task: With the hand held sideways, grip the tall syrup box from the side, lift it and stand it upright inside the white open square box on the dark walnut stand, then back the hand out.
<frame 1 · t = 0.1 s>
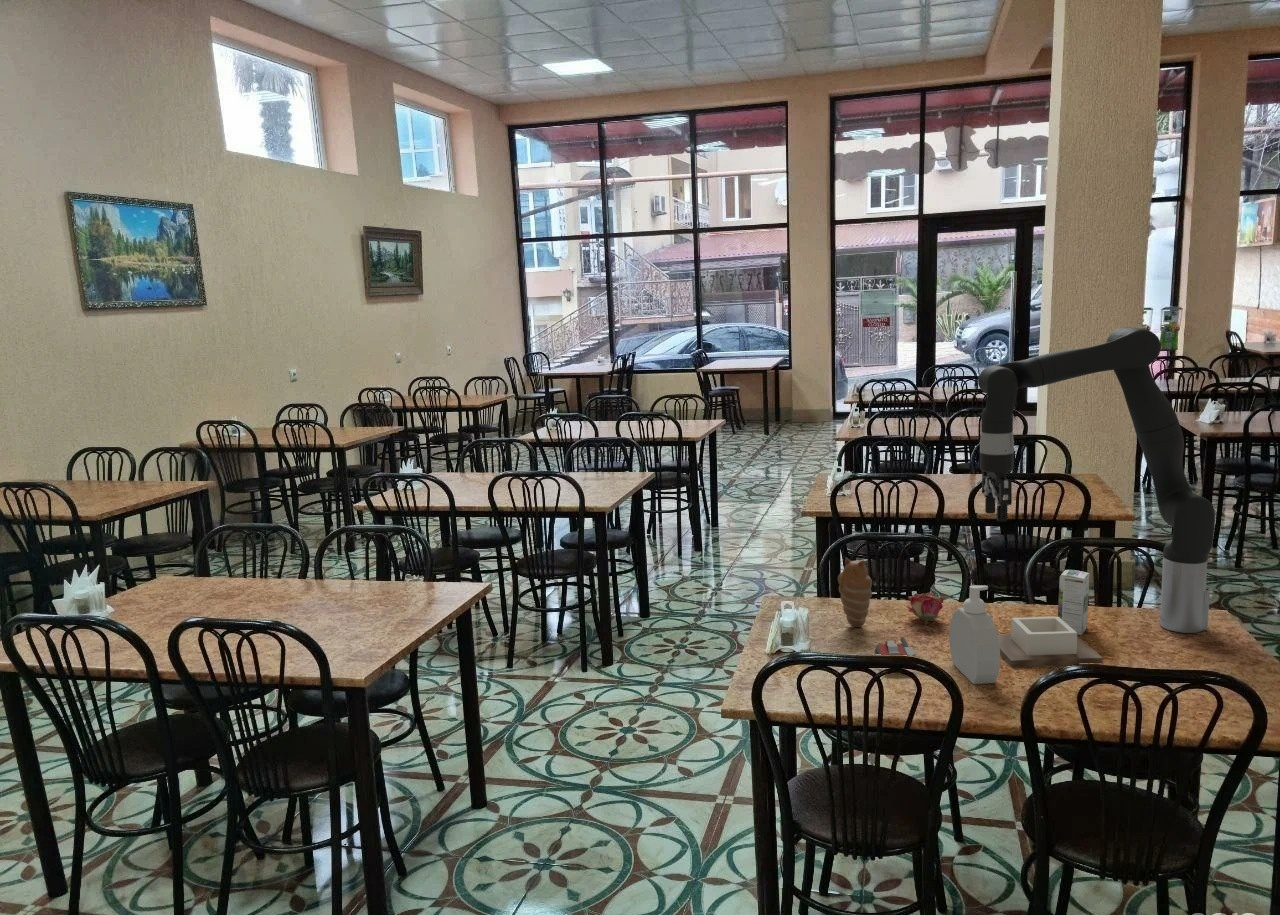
hand: (995, 517, 225), 29 cm above the table, tool pointing down, fingers open, 8 cm apart
soap bottle: (974, 674, 207), on the table
cat ice cream: (856, 627, 238), on the table
white open square box: (1043, 635, 216), on the walnut stand, point 4 cm above the table
flower: (925, 621, 240), on the table
syrup box: (1072, 631, 229), on the table
walkie-talkie: (895, 660, 217), on the table
walnut stand: (1042, 651, 217), on the table
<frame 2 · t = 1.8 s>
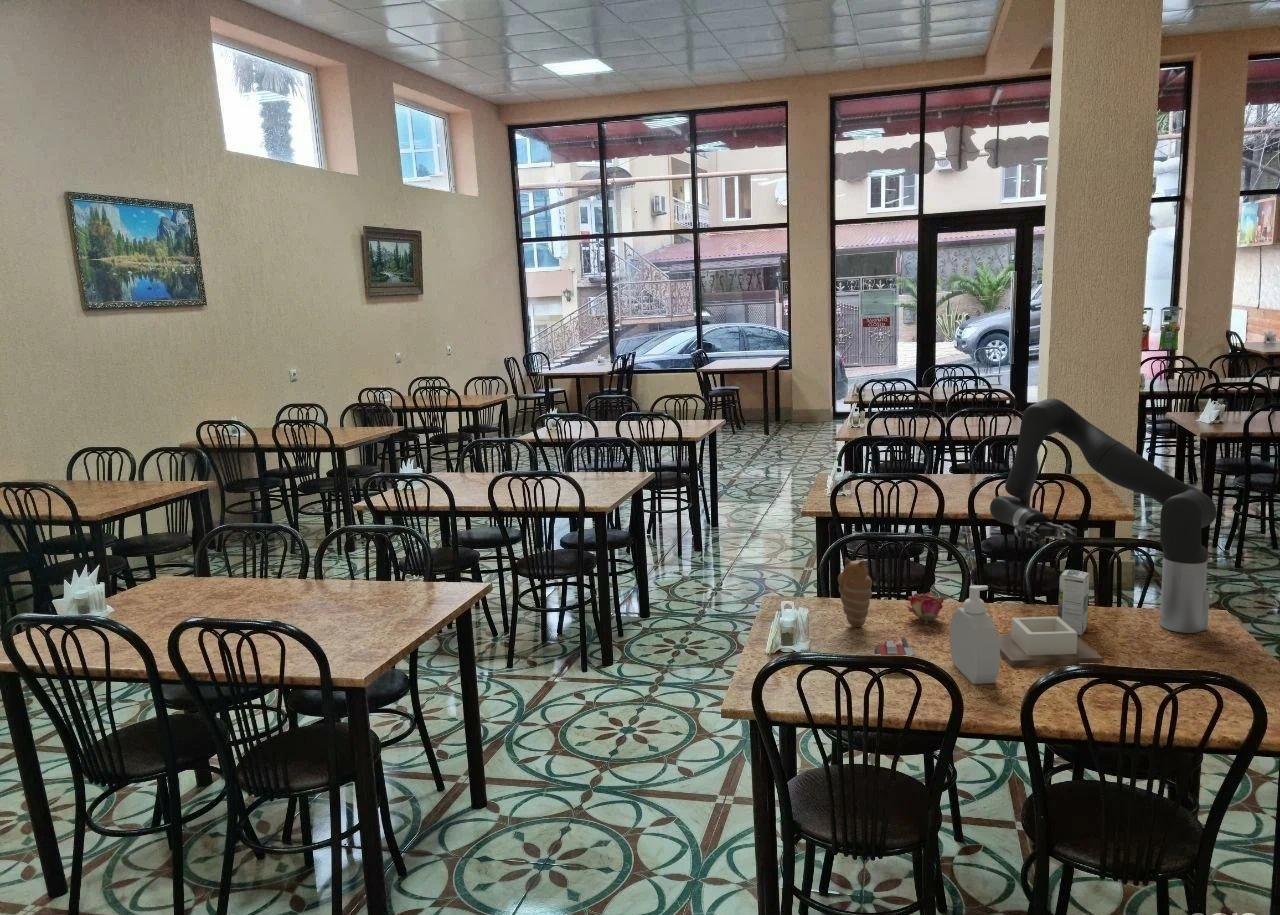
hand: (1056, 539, 236), 20 cm above the table, tool horizontal, fingers open, 8 cm apart
nothing on the table moved.
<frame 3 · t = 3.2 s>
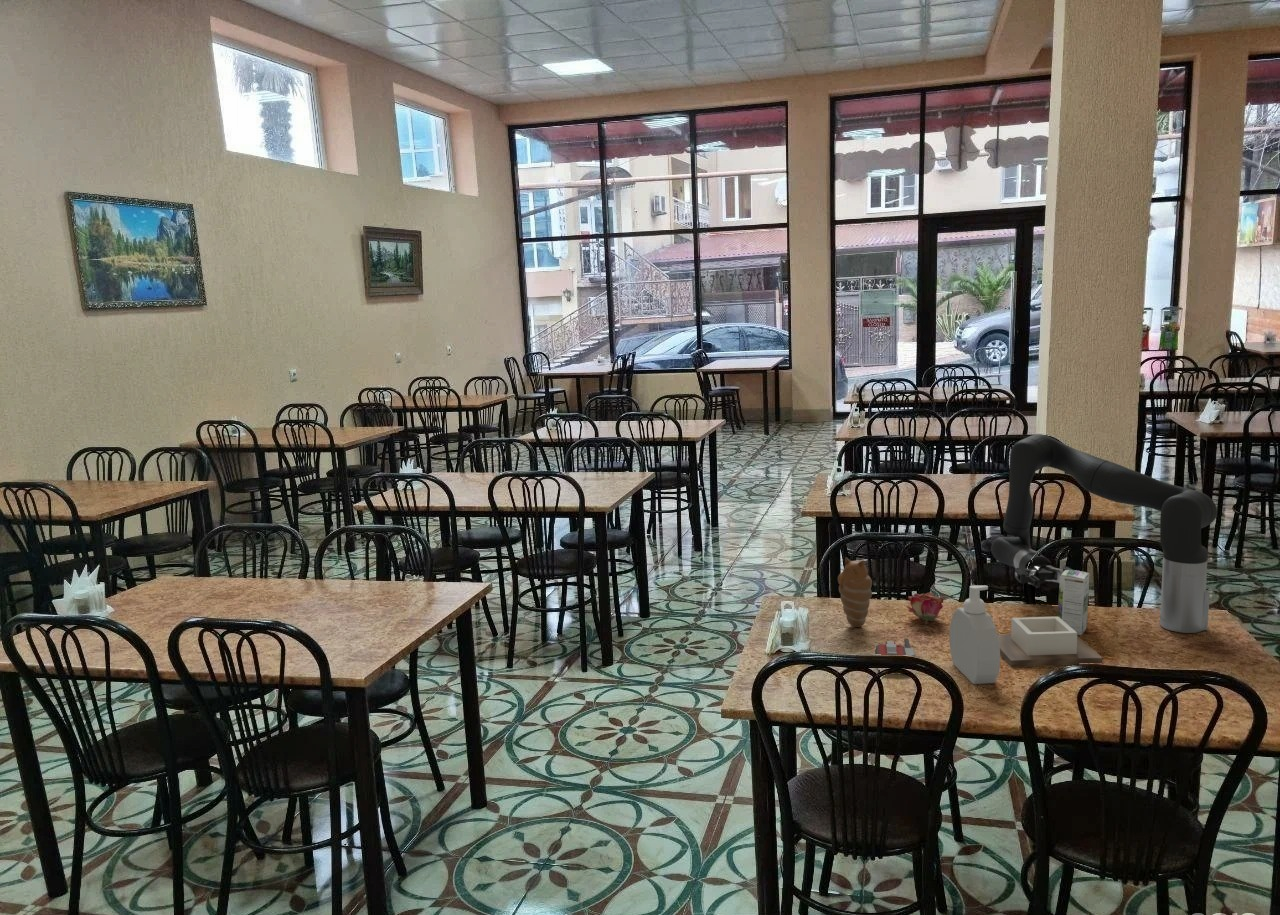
hand: (1056, 583, 238), 9 cm above the table, tool horizontal, fingers open, 8 cm apart
nothing on the table moved.
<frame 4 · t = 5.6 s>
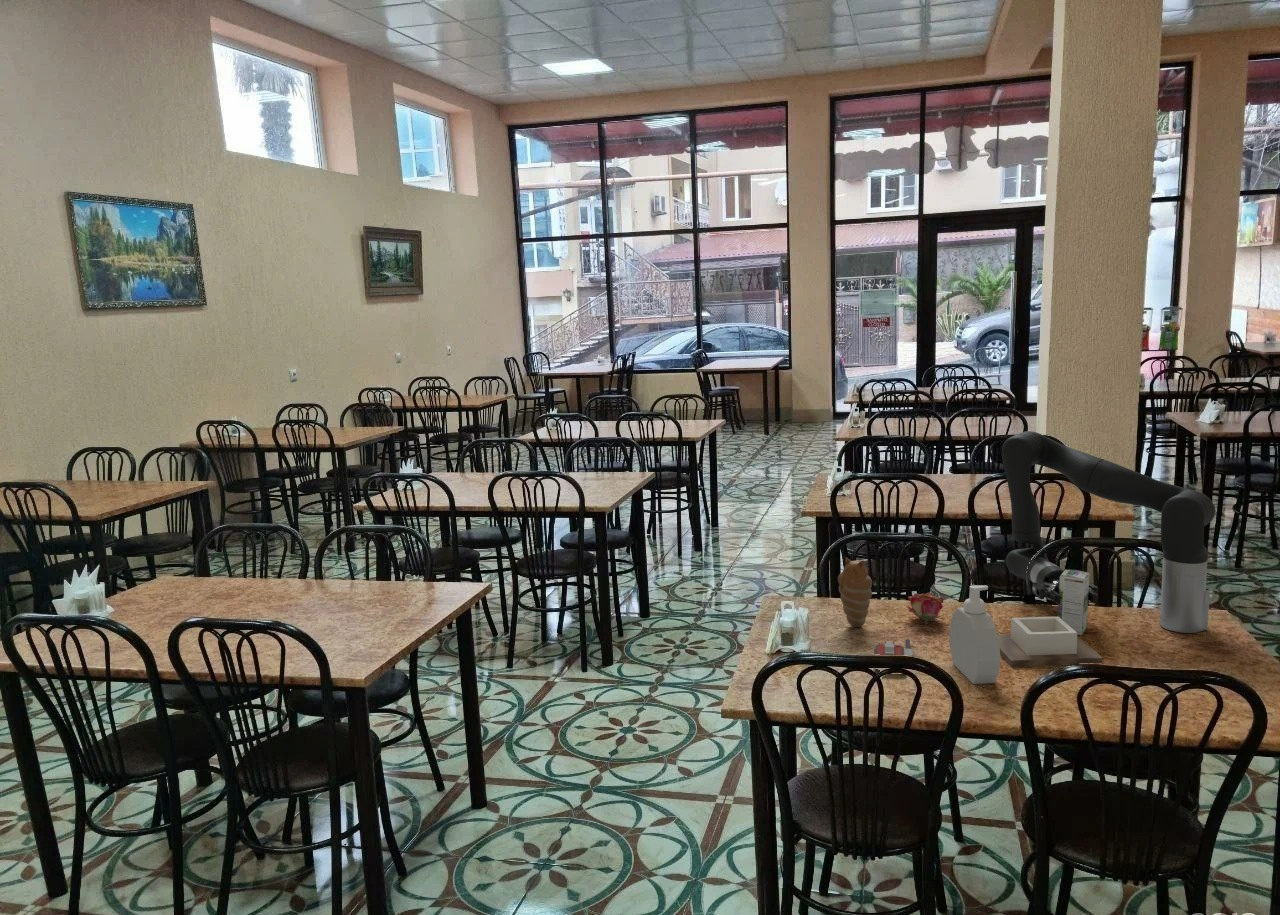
hand: (1076, 599, 225), 9 cm above the table, tool horizontal, fingers closed on syrup box, 8 cm apart
syrup box: (1072, 631, 229), on the table, touching gripper
everything else where it was.
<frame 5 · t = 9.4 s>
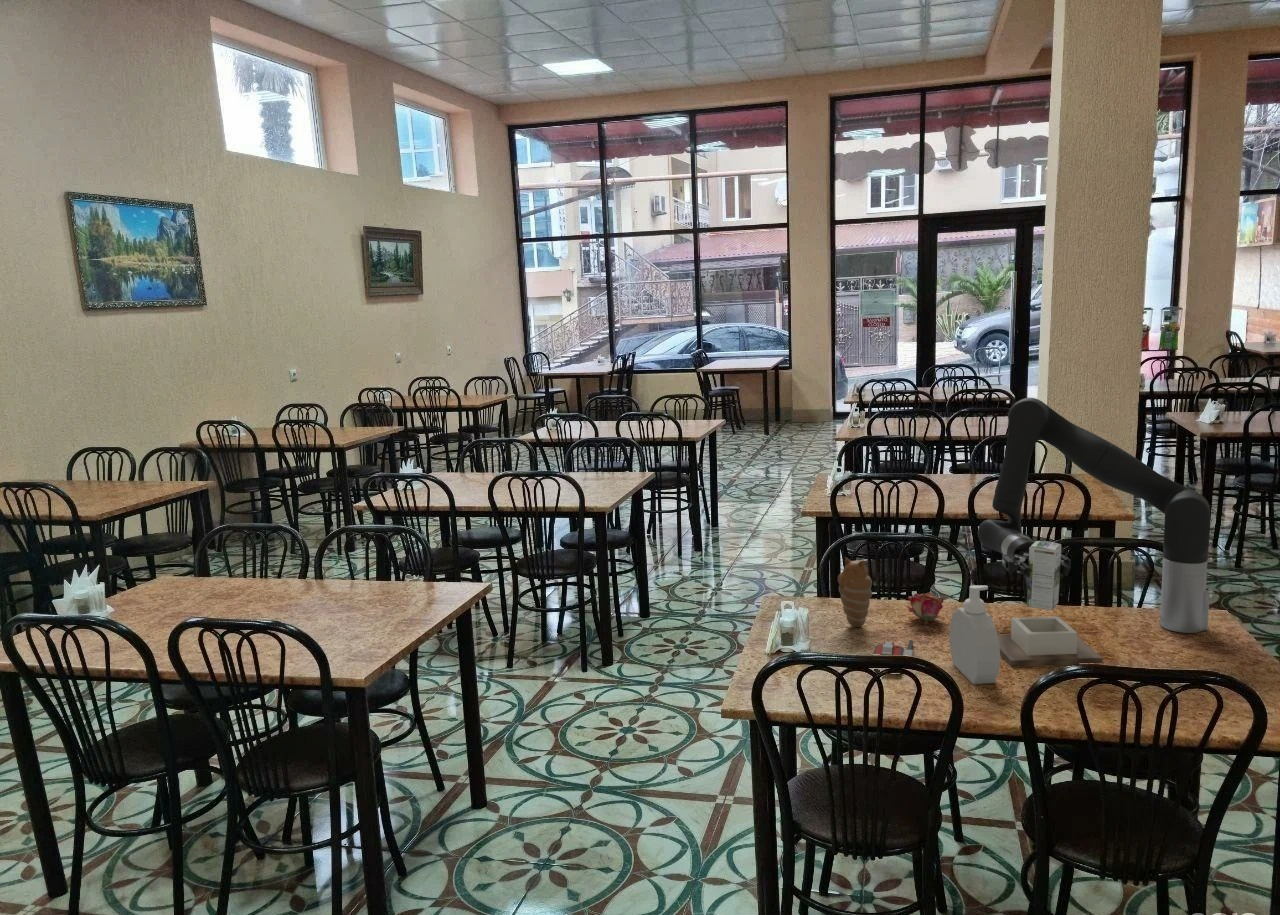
hand: (1047, 572, 212), 20 cm above the table, tool horizontal, fingers closed on syrup box, 8 cm apart
syrup box: (1043, 606, 215), point 11 cm above the table, touching gripper
when the fingers open (12 cm above the table, at t = 11.6 s): syrup box drops 2 cm, resting on walnut stand.
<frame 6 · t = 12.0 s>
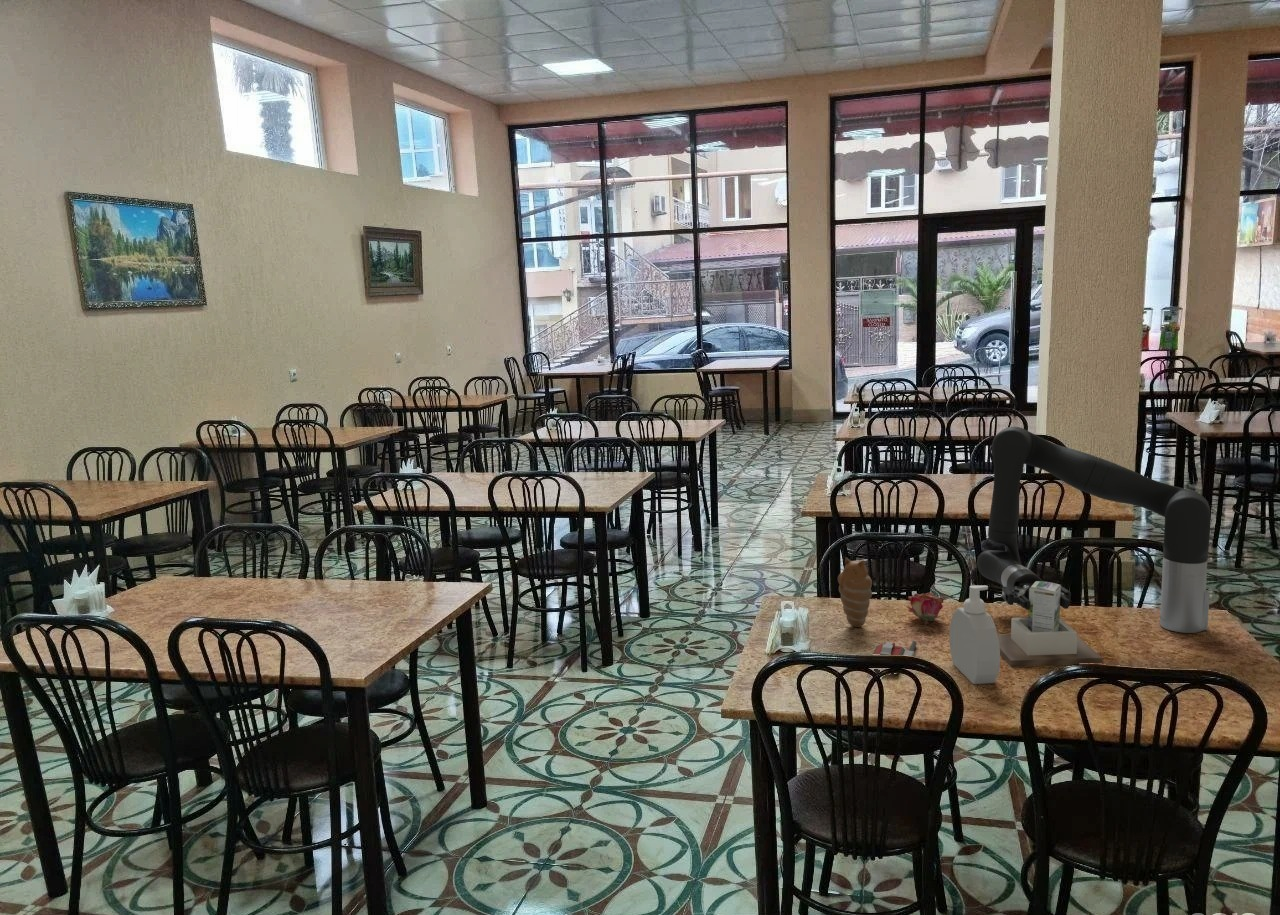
hand: (1047, 605, 213), 12 cm above the table, tool horizontal, fingers open, 8 cm apart
syrup box: (1043, 646, 217), point 1 cm above the table, touching gripper, walnut stand
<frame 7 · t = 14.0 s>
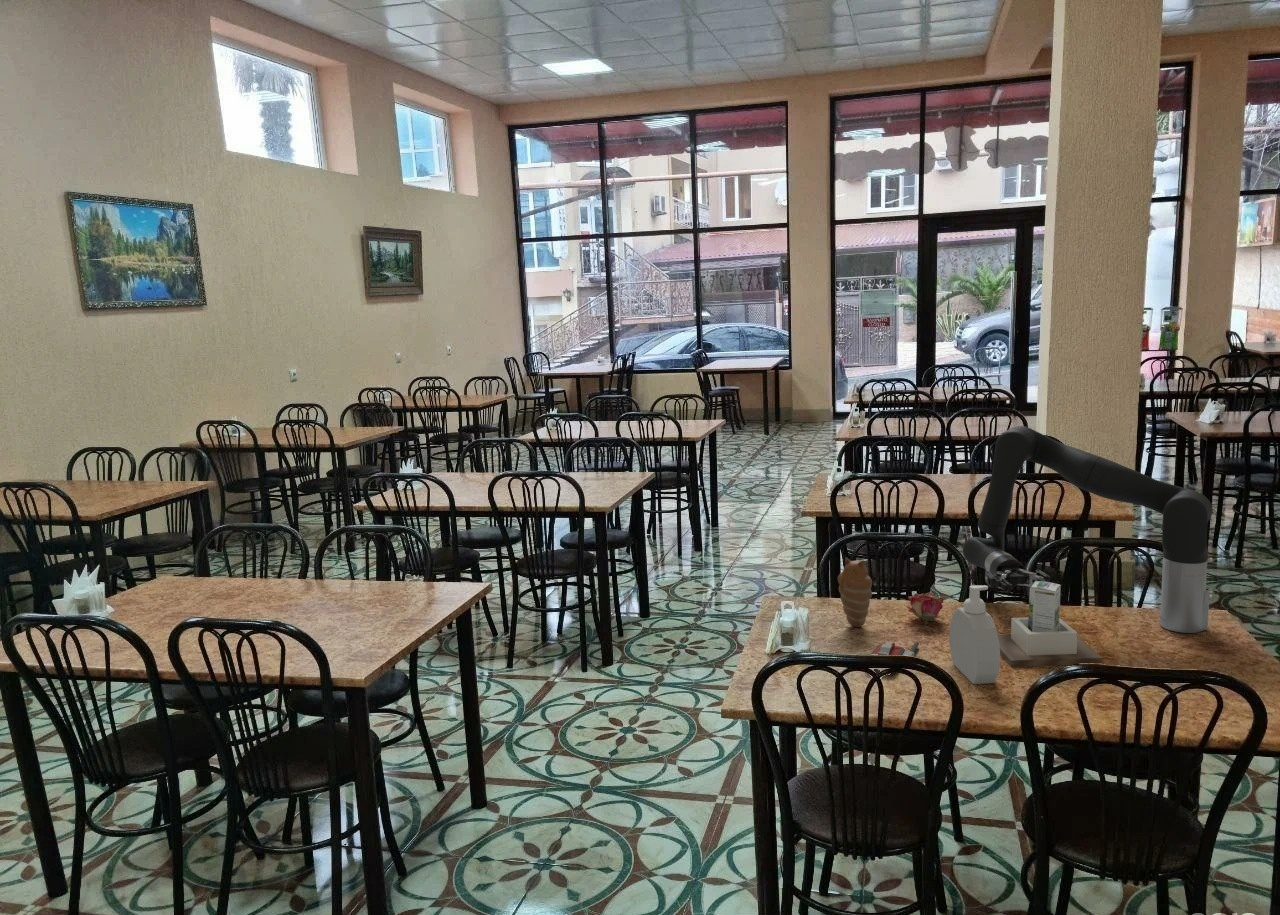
hand: (1027, 588, 225), 12 cm above the table, tool horizontal, fingers open, 8 cm apart
syrup box: (1043, 646, 217), point 1 cm above the table, touching walnut stand
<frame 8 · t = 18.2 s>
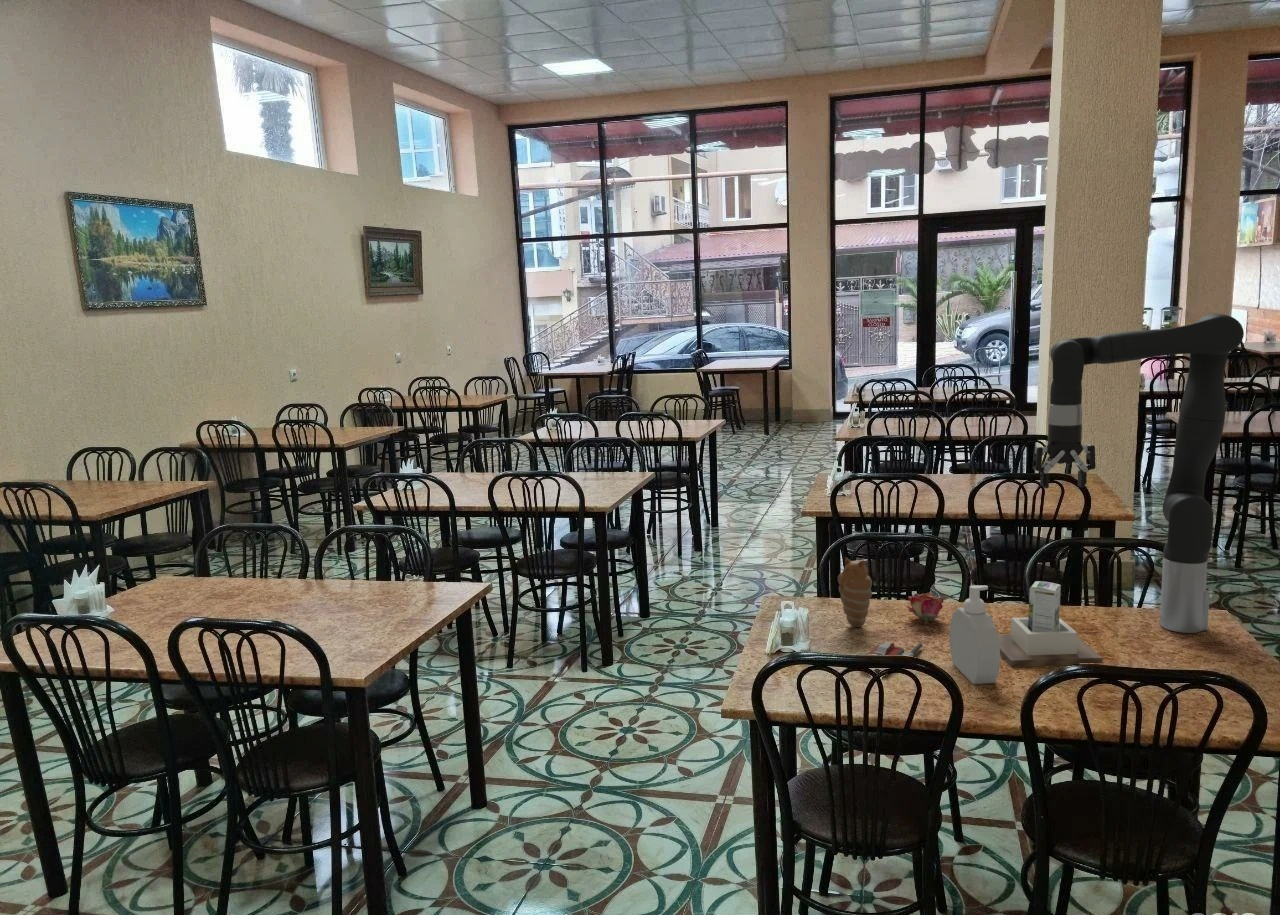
hand: (1063, 487, 231), 34 cm above the table, tool pointing down, fingers open, 8 cm apart
at the end: syrup box 0.4 cm off-centre on the white open square box, point 1.3 cm above the white open square box's base; syrup box tilted 0°; the gripper is holding nothing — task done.
